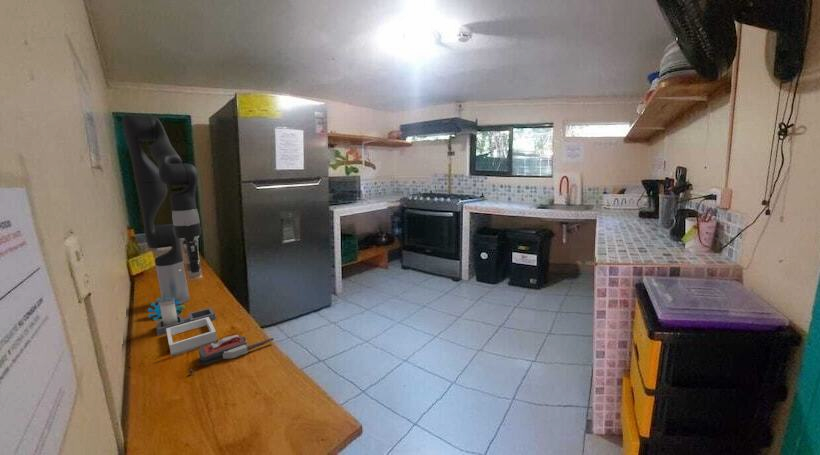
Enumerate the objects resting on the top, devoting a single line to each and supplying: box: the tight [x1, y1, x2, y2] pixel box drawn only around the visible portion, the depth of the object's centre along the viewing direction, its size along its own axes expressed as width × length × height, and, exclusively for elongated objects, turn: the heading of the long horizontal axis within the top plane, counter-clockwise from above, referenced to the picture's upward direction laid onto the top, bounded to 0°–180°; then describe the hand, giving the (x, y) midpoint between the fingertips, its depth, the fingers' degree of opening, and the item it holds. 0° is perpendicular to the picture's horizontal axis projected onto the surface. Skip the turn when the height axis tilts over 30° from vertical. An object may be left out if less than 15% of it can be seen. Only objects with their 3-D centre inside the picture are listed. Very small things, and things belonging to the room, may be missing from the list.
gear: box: [147, 296, 186, 322], centre depth 121 cm, size 11×6×10 cm
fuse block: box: [156, 307, 217, 337], centre depth 113 cm, size 17×9×3 cm, turn 130°
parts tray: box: [166, 317, 219, 357], centre depth 103 cm, size 14×12×4 cm
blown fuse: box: [183, 250, 204, 282], centre depth 112 cm, size 4×4×10 cm
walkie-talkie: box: [197, 334, 274, 366], centre depth 96 cm, size 9×4×20 cm
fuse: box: [159, 298, 178, 327], centre depth 109 cm, size 4×4×10 cm
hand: (194, 270), depth 112 cm, fingers closed on blown fuse, 4 cm apart
